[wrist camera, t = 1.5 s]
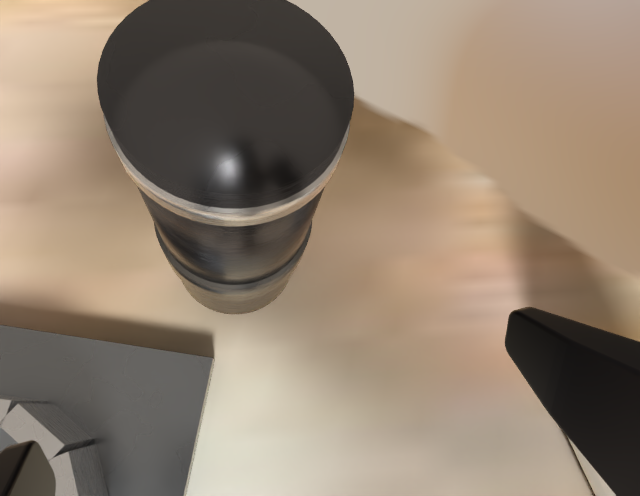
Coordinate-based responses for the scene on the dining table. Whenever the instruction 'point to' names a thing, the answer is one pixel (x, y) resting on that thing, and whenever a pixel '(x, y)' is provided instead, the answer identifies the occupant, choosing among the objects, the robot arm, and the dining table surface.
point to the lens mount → (103, 411)
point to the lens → (227, 136)
